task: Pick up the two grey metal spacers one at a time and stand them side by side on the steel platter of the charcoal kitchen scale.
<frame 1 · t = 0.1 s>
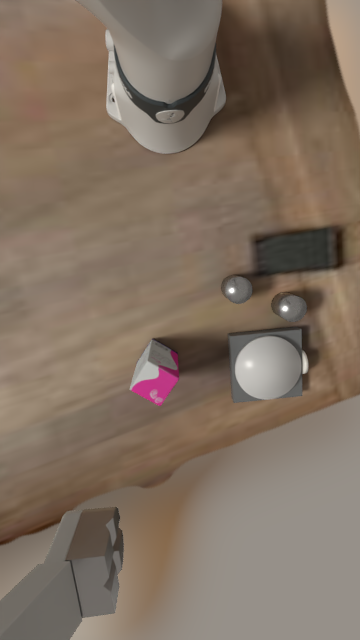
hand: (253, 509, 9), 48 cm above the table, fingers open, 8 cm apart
supplement box: (157, 358, 59), on the table
spacer 1: (283, 304, 57), on the table
spacer 2: (233, 287, 56), on the table
scale: (263, 363, 59), on the table
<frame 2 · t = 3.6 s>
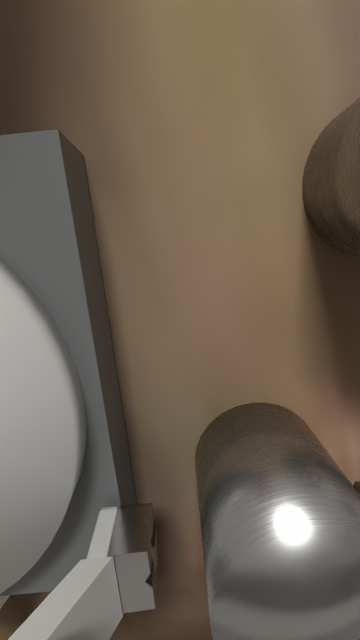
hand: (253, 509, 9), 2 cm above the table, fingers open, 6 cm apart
spacer 1: (255, 458, 11), on the table
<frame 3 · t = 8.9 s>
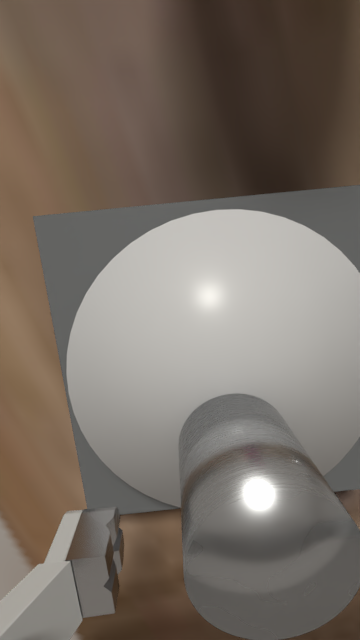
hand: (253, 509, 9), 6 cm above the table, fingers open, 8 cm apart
spacer 1: (233, 444, 12), point 3 cm above the table, touching scale
scale: (216, 352, 15), on the table
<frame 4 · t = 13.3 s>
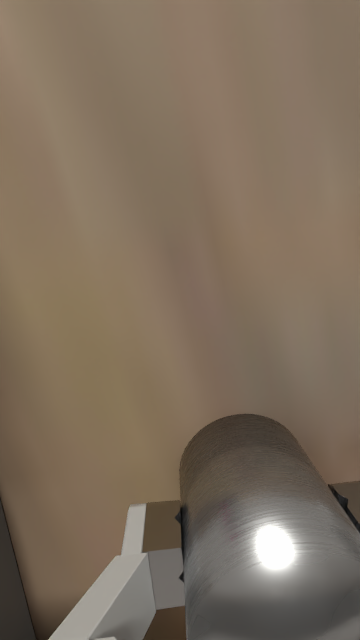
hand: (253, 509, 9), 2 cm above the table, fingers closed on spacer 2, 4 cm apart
spacer 2: (241, 471, 11), on the table, touching gripper
when the fingers open (6 cm above the table, at t = 18.0 s): spacer 2 drops 1 cm, resting on scale.
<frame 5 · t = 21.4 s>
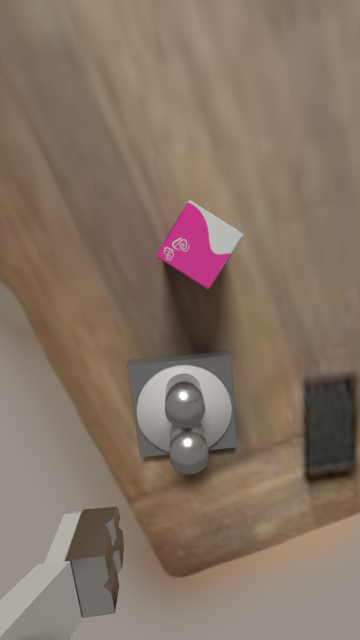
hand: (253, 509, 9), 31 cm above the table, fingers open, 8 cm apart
supplement box: (192, 248, 38), on the table
spacer 1: (186, 432, 40), point 3 cm above the table, touching scale
spacer 2: (183, 389, 39), point 3 cm above the table, touching scale
scale: (183, 400, 42), on the table
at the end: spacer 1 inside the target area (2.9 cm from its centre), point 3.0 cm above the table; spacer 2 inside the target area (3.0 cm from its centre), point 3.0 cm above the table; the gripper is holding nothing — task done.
